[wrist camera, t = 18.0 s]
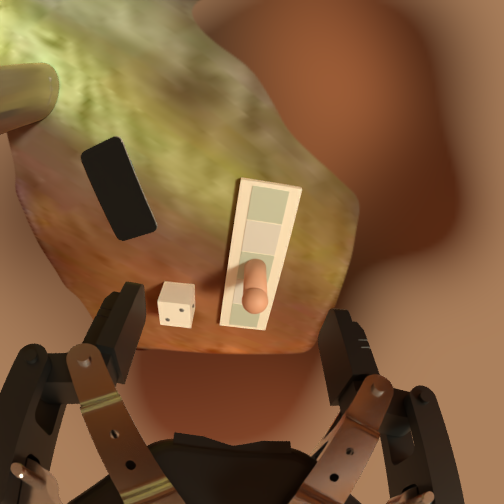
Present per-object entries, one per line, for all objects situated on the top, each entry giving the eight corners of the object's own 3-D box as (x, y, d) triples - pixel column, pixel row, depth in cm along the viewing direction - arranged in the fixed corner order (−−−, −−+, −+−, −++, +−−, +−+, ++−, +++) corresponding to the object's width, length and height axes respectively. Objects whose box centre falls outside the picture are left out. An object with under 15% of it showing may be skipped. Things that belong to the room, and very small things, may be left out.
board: (219, 321, 51) (219, 325, 51) (241, 177, 38) (241, 179, 37) (264, 326, 52) (265, 330, 51) (301, 187, 39) (302, 189, 38)
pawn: (241, 275, 45) (239, 317, 37) (246, 256, 43) (243, 297, 35) (264, 278, 45) (265, 321, 37) (269, 260, 43) (271, 301, 36)
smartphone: (118, 242, 42) (78, 154, 35) (120, 240, 43) (80, 153, 35) (159, 230, 42) (119, 134, 34) (160, 228, 42) (121, 133, 34)
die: (166, 304, 49) (160, 326, 45) (164, 281, 47) (157, 302, 42) (196, 308, 50) (192, 329, 45) (196, 284, 47) (191, 305, 43)
